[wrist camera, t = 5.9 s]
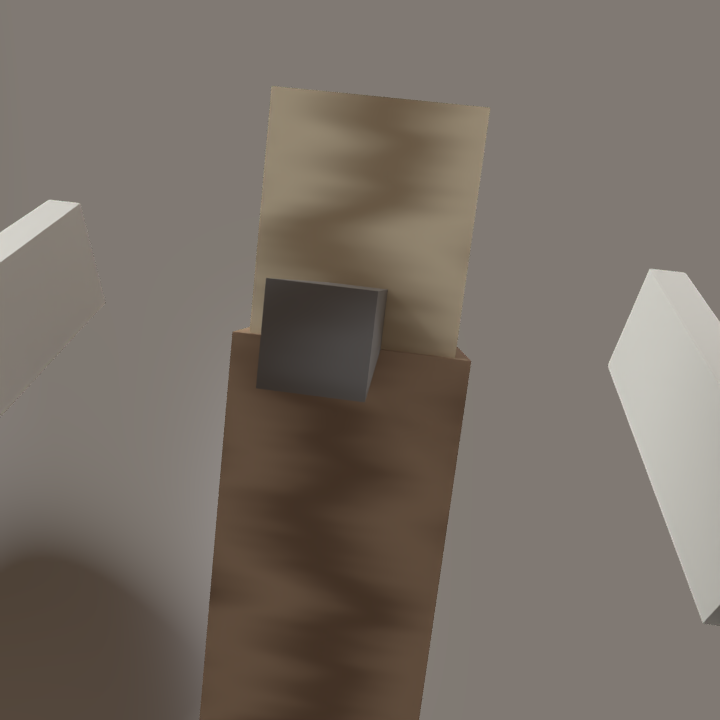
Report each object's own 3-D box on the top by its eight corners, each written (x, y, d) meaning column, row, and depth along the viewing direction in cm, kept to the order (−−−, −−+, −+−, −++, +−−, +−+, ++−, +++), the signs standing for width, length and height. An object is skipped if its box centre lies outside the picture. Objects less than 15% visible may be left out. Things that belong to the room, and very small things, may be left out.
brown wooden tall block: (172, 1037, 23) (232, 331, 19) (218, 885, 28) (271, 321, 24) (367, 1075, 22) (471, 361, 18) (373, 913, 28) (453, 343, 24)
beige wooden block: (122, 371, 10) (151, -106, 9) (282, 322, 24) (301, 132, 23) (504, 420, 10) (581, -71, 9) (442, 342, 24) (468, 149, 23)
